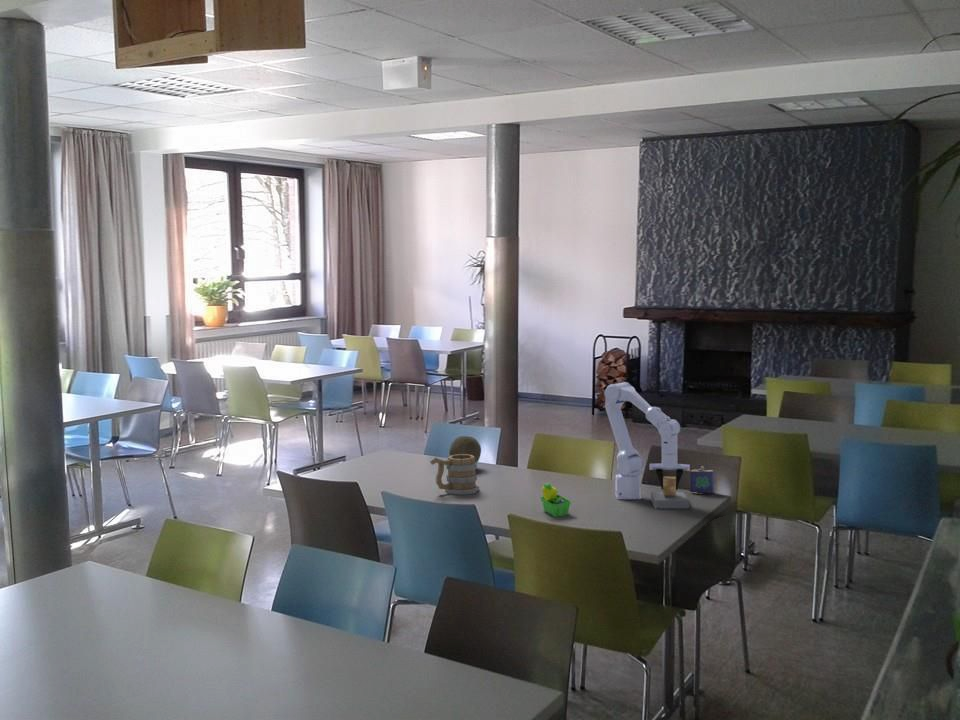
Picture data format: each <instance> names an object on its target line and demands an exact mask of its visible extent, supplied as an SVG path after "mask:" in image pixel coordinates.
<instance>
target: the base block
mask: <svg viewBox="0 0 960 720" xmlns="http://www.w3.org/2000/svg"><path fill="white" fill-rule="evenodd" d="M651 500H652V501H651ZM650 501H651V503H652V502H653V503H652V504H654V505H655V506H654V505H653V506H654V508H655V507H656V508H659V509H690V499H689V497H687V495H686V494H685V493H684V491H676V496H672V495H663V492H660V491H659V492H657V491H656V492H655V491H654V492H650ZM656 508H655V509H656Z"/></svg>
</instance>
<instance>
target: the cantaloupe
mask: <svg viewBox="0 0 960 720" xmlns="http://www.w3.org/2000/svg"><path fill="white" fill-rule="evenodd" d="M481 447H482V446H481V444H480V442H479V441H478V440H477V438H475V437H473V436H469V435H462V436H460V435H459V436H458V437H456V438H455V439H454V440H453V441H452V443H451V444H450V447H449V451H448V452H449V454H448V455H449V456H451V455H458V454H468V455H472V456H475V462H476V463H477V464H478V463H479V460H480V458H481V454H482V448H481ZM449 456H448V457H449Z"/></svg>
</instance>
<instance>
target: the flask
mask: <svg viewBox="0 0 960 720" xmlns="http://www.w3.org/2000/svg"><path fill="white" fill-rule="evenodd" d="M690 492H697V493H708V494H707V495H712V494H714V493H715V471H714V470H712V469H708V470H707V469H706V470H705V467H704V465H703V466H702V465H701V466H700V468H699V469H698V468H697V469H695V468H694V469H692V470H691V469H690V471H689V493H690Z"/></svg>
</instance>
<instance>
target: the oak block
mask: <svg viewBox="0 0 960 720" xmlns="http://www.w3.org/2000/svg"><path fill="white" fill-rule="evenodd" d="M662 491H663V495H672V496H676V492H677V490H676V476H663V490H662Z"/></svg>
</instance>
